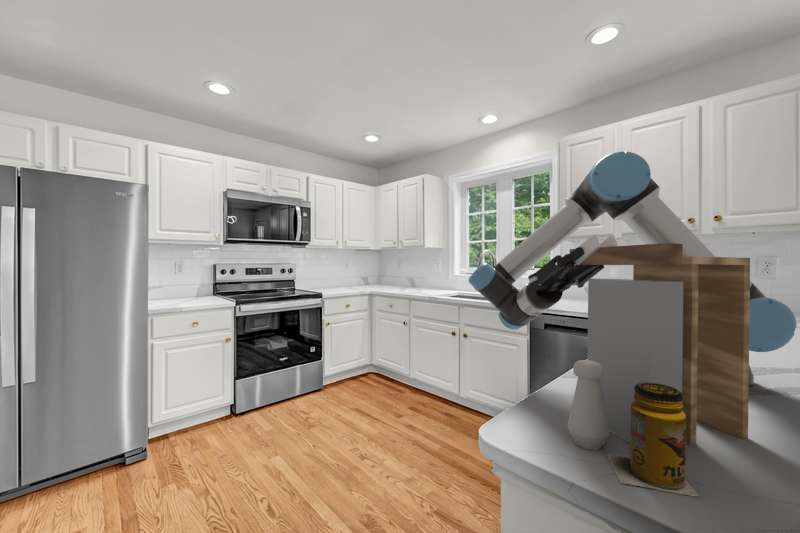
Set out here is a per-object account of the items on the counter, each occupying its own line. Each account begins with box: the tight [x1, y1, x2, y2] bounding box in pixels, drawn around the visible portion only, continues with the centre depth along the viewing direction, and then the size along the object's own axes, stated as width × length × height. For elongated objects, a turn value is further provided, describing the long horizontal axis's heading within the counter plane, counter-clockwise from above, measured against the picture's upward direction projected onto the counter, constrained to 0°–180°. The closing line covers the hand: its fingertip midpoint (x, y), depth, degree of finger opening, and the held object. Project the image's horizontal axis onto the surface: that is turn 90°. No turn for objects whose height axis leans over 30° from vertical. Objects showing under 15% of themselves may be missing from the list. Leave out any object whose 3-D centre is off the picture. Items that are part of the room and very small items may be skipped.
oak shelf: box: [632, 256, 751, 446], centre depth 63 cm, size 12×11×30 cm
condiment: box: [606, 383, 700, 497], centre depth 48 cm, size 7×8×12 cm
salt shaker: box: [567, 359, 610, 451], centre depth 57 cm, size 6×6×13 cm
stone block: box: [586, 278, 683, 443], centre depth 61 cm, size 6×13×26 cm, turn 12°
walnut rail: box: [569, 243, 683, 266], centre depth 64 cm, size 3×21×3 cm, turn 12°
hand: (605, 241), depth 66 cm, fingers closed on walnut rail, 3 cm apart
